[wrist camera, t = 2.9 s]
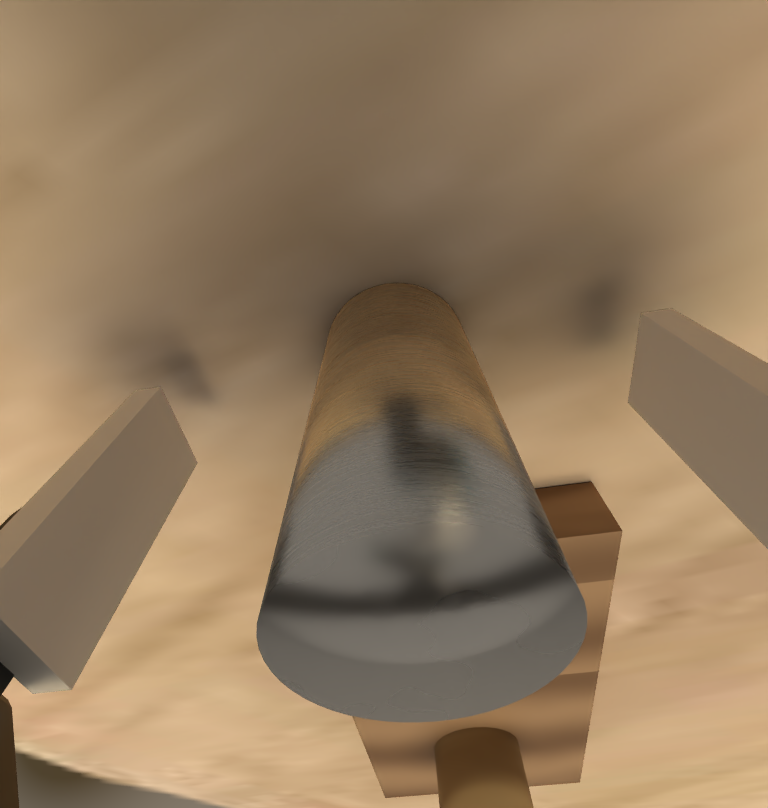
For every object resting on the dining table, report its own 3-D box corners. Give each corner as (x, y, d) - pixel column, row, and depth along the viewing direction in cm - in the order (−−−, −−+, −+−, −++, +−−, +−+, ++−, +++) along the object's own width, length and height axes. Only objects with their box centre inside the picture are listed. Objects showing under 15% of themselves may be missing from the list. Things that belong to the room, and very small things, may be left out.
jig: (303, 518, 19) (241, 839, 10) (591, 481, 18) (789, 798, 9) (384, 749, 30) (387, 993, 21) (564, 733, 29) (641, 980, 21)
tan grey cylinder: (312, 295, 14) (205, 554, 5) (459, 272, 13) (603, 505, 5) (342, 417, 16) (303, 733, 8) (468, 399, 16) (576, 708, 7)
